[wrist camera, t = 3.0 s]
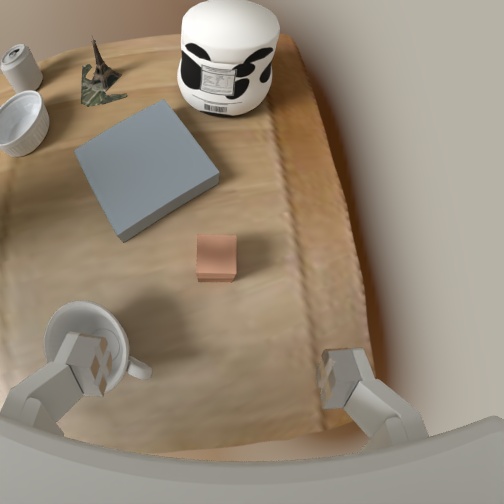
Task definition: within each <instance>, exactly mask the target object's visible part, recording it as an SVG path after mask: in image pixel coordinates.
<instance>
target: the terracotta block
mask: <svg viewBox="0 0 504 504" xmlns="http://www.w3.org/2000/svg"><path fill="white" fill-rule="evenodd" d="M235 275H236V235H203V234H198V239H197V278H198V282H232V281H233V279H234V277H235Z"/></svg>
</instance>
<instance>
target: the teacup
mask: <svg viewBox="0 0 504 504" xmlns="http://www.w3.org/2000/svg"><path fill="white" fill-rule="evenodd" d="M70 331H71V332H77V333H83V334H88V335H94V336H100V337H105V338H106V340H107V343H108V345H107V349H108V350H109V351H110V352H111V355H112V369H111V373H110V375H109V376H108V377H106V378H105V380H106V382H107V386H106V389H105V393H107V392H109V391H110V390H112V389H113V388H115V386H116V385H117V384H118V383H119V382H120V381H121V379H122V377H123V375H124V373H125V371H128V374H130V375H131V376H133V377H136V378H139V379H144V380H146V379H149V378H150V377H151V375H152V368H151V367H150V366H148V365H147V364H145V363H143V362H141V361H139V360H137V359H135V358H134V357H132V356H131V355H129V351H130V346H129V340H128V337H127V335H126V333H125V331H124V329H123V328H122V327H121V325H120V323H119V322H118V320H117V319H116V318H115V317H114V316H113V314H112V313H111V312H109V311H108V310H107V309H106V308H104V307H103V306H101V305H99V304H97V303H94V302H91V301H83V300H80V301H73V302H70V303H67V304H65V305H63V306H62V307H60V308H59V309H58V310H57V311H56V312H55V313H54V314H53V315H52V317H51V318H50V320H49V322H48V324H47V327H46V330H45V335H44V352H45V357H46V360H47V363H49V362H51V361H52V362H54V360H55V358H56V356H57V354H58V352H59V350H60V348H61V346H62V343H63V341H64V339H65V337H66V335H67V334H68V333H69V332H70ZM83 395H85V394H83ZM85 396H91V395H85Z"/></svg>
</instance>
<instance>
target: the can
mask: <svg viewBox="0 0 504 504" xmlns="http://www.w3.org/2000/svg"><path fill="white" fill-rule="evenodd" d="M1 70H2V71H3V73H4V75H5V76H6V78H7V80H8V81H9V83H10V84H11V86H12V88H13V89H14V91H15V92H16V94H18V93H21V92H24V91H28V90H33V91H35V90H36V89H37V88H38V87H39V86H40V84H41V82H42V79H43V75H42V73H41V71H40V69H39V67H38V65H37V63H36V61H35V59H34V57H33V55H32V53H31V51H30V49H29V47H27V46H25V45H23V44H18V45H16V46H14V47H12V48H11V49H9V50H8V51H7V52H6V53H5V54H4V55H3V57H2V59H1Z"/></svg>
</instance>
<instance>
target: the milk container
mask: <svg viewBox="0 0 504 504" xmlns="http://www.w3.org/2000/svg"><path fill="white" fill-rule="evenodd" d="M279 30H280V26H279V22H278V20H277V17H276V16H275V15H274V14H273V13H272V12H271V11H270V10H268V9H267V8H265V7H263V6H261V5H259V4H257V3H253V2H250V1H246V0H209V1H206V2H202V3H199V4H197V5H196V6H194V7H192V8H191V9H189V11H188V12H187V13H186V14H185V15H184V17H183V22H182V33H181V50H182V58H181V61H180V64H179V68H178V75H177V76H178V84H179V88H180V91H181V93H182V95H183V97H184V99H185V100H186V101H187V102H188V103H189V104H190V105H191V106H192V107H194V108H195V109H197V110H198V111H200V112H203V113H206V114H209V115H213V116H222V117H229V116H236V115H241V114H244V113H246V112H248V111H250V110H252V109H254V108H255V107H257V106H258V105H259V104H260V103H261V102H262V101H263V99H264V98H265V96H266V95H267V93H268V91H269V88H270V86H271V82H272V66H271V62H272V59H273V56H274V53H275V49H276V43H277V40H278V37H279Z"/></svg>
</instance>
